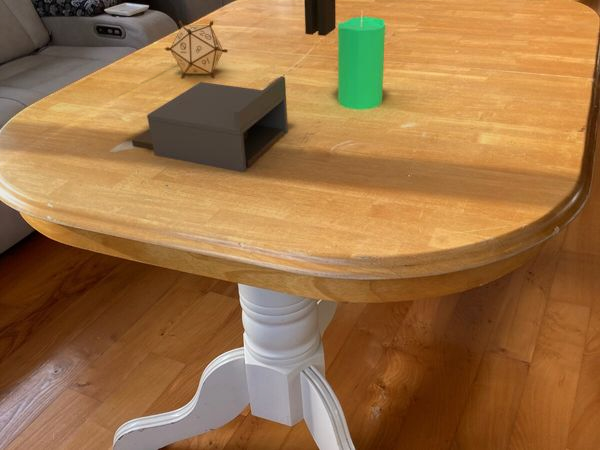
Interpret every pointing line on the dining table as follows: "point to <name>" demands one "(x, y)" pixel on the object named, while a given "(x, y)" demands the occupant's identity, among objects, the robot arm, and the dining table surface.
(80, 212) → the dining table surface
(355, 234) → the dining table surface
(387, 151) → the dining table surface
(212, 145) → the cover
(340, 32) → the candle
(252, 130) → the dark grey button base
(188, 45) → the game die
